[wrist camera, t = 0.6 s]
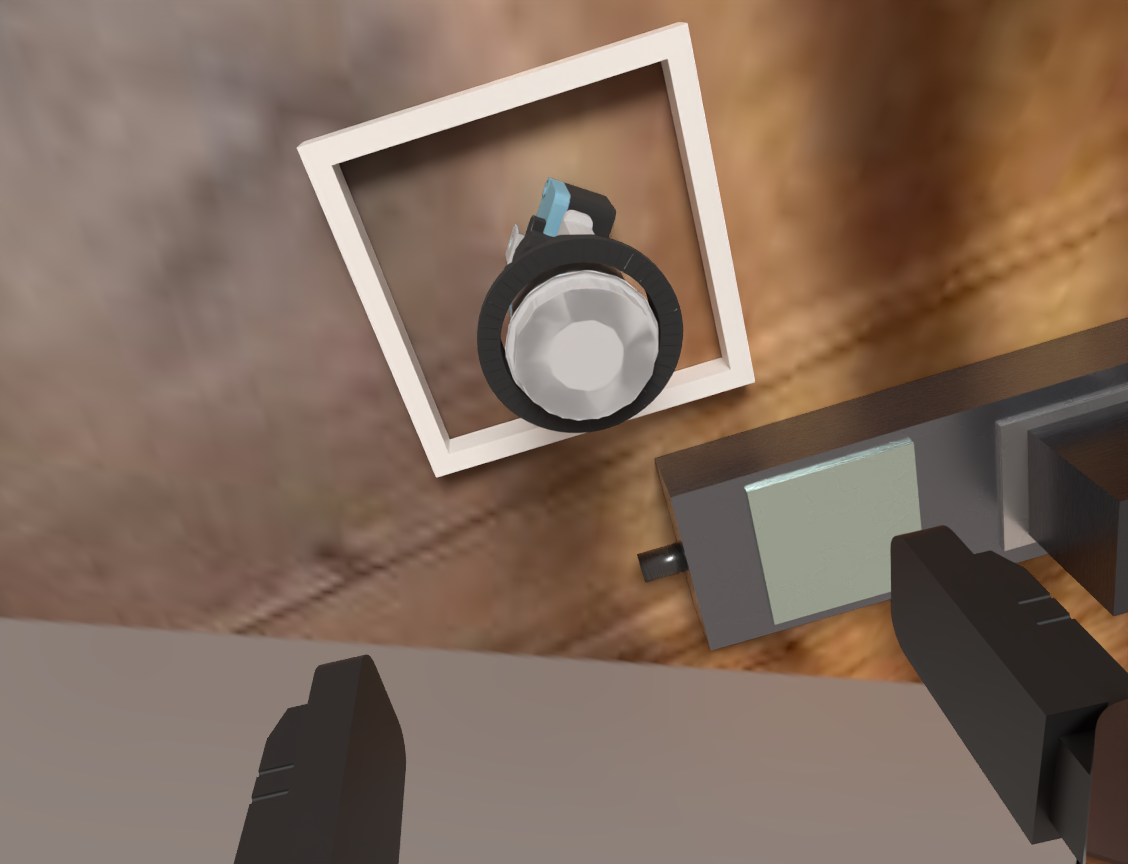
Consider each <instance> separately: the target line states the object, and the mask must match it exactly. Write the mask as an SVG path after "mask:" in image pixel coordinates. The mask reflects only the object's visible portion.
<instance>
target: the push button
mask: <svg viewBox="0 0 1128 864" xmlns="http://www.w3.org/2000/svg"><path fill="white" fill-rule="evenodd" d="M542 196H543V197H542V200H541V203H540V206H539V209H538V212H537V215H536V216H534V215H533V216H532V217H531V219H530V222H529V225H528V228H527V231H526V234H525V236H524V235H521V234H518V233H519V231H518V227H517V225H516V224H515V225H514V227H513V230H512V234H511V237H510V240H509V243H508V246H507V250H506V259H507V264H508V265H507V266H506V267H505V268H504V270H503V271H502V273H501V274H500V275H499V276H498V277H497V279H496V280H495V282H494V283H493V285H492V286H491V288H490V290H489V292H488V293H487V295H486V298H485V300H484V303H483V305H482V308H481V312H480V315H479V321H478V330H477V344H478V355H479V360H480V364H481V367H482V371H483V373H484V376H485V378H486V380H487V382H488V384H489V386H490V387H491V389H492V391H493V392H494V393H495V395H496V396H497V397H498V399H499V400H500V401H501V402H502V403H503V404H504V405H505V406H506V407H507V408H508V409H509V410H511V411H512V412H513V413H514V414H516V415H517V416H519V417H520V418H522V419H524V420H525V421H527V422H529V423H531V424H534V425H536V426H538V427H541V428H545V429H548V430H552V431H557V432H565V433H585V432H593V431H599V430H603V429H606V428H610V427H612V426H615V425H618V424H620V423H622V422H624V421H626V420H628V419H630V418H632V417H633V416H635V415H636V414H638V413H639V412H641V411H642V410H643V409H645V408H646V407H647V406H648V405H649V404H650V403H651V402H653V401H654V400H655V398H656V397H657V396H658V395H659V394H660V393H661V392H662V390H663V389H664V387H665V386H666V385H667V383H668V381H669V380H670V378H671V376H672V374H673V372H674V370H675V368H676V366H677V363H678V360H679V357H680V352H681V348H682V340H683V322H682V315H681V310H680V306H679V303H678V300H677V297H676V295H675V293H674V291H673V289H672V287H671V285H670V284H669V282H668V281H667V279H666V278H665V276H664V275H663V273H662V272H661V271H660V270H659V269H658V267H657V266H656V265H655V264H654V263H653V262H652V261H651V260H650V259H649V258H647V257H646V256H645V255H643V254H642V253H641V252H639V251H637V250H636V249H634V248H632V247H631V246H629V245H626V244H624V243H622V242H619V241H616V240H613V239H610V238H608V237H609V234H610V231H611V228H612V226H613V223H614V220H615V216H616V210H615V209H614V207H613V206H612V204H611V203H610V201H609V200H608V198H607V197H606V196H604V195H601V194H598V193H594V192H591V191H588V190H585V189H582V188H579V187H576V186H573V185H570V184H567V183H564V182H561V181H558V180H555V179H552V178H548V179H547V182H546V184H545V187H544V190H543V194H542ZM619 270H621V271H623V272H624V273H626V274H628V275H629V276H631V277H632V278H633V279H635V280H636V281H637V282H638V283H639V284H640V285H641V286H642V287H643V288H644V289H645V292H646V294H647V298H648V302H649V304H648V302H647V300H646V299H645V297H644V296H643V295H642V294H641V293H639V292H638V291H637V290H636V289H635V288H633V287H632V286H631V285H630V284H628V283H627V282H626V281H625V279H624V278H623V276H622V274H621V273H620V271H619ZM508 308H510V316H511V320H510V323H509V325H508V332H507V339H506V346H505V349H504V347H503V344H502V341H501V329H502V324H503V321H504V318H505V315H506V313H507V310H508Z"/></svg>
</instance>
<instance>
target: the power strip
mask: <svg viewBox="0 0 1128 864" xmlns="http://www.w3.org/2000/svg"><path fill="white" fill-rule="evenodd" d="M655 462H656V465H657V469H658V473H659V477H660V480H661V484H662V488H663V491H664V495H665V499H666V503H667V506H668V510H669V514H670V518H671V521H672V525H673V529H674V533H675V536H676V540H677V543H674V544H670V545H667V546H664V547H660V548H657V549H653V550H650V551H647V552H643V553H640V554H637V556H638V559H639V563H640V566H641V569H642V573H643V576H644V579H645V582H649V581H653V580H656V579H659V578H663V577H666V576H670V575H673V574H677V573H680V572H683V571H685V574H686V577H687V581H688V585H689V589H690V592H691V596H692V600H693V604H694V607H695V609H696V612H697V615H698V617H699V620H700V623H701V626H702V628H703V631H704V634H705V636H706V639H707V642H708V644H709V647H710V650H711V651H712V650H715V649H719V648H722V647H725V646H729V645H732V644H736V643H739V642H743V641H746V640H750V639H753V638H757V637H760V636H764V635H767V634H771V633H774V632H778V631H781V630H785V629H788V628H792V627H795V626H799V625H802V624H806V623H809V622H813V621H816V620H820V619H823V618H827V617H830V616H834V615H837V614H841V613H844V612H848V611H851V610H854V609H858V608H861V607H865V606H868V605H872V604H875V603H879V602H882V601H886V600H889V599H891V558H890V547H891V541H892V538H893V537H894V536H897V535H901V534H906V533H910V532H914V531H919V530H923V529H928V528H932V527H936V526H941V525H945V526H947V527H949V528H950V529H951V530H952V531H953V532H954V533H955V534H956V535H957V536H958V537H959V538H960V539H961V540H962V542H963V543H964V544H965V545H966V546H967V547H968V548H969V549H970V550H971V551H972V552H973V554H976V553H981V552H985V551H990V550H991V551H993V552H995V553H997V554H999V555H1001V556H1003V557H1004V558H1006V559H1008V560H1010V561H1012V562H1014V563H1018V562H1022V561H1025V560H1029V559H1032V558H1036V557H1039V556H1043V555H1046V554H1049V555H1050V556H1051V557H1053V558H1054V559H1055V560H1056V561H1057V562H1058V563H1059V564H1060V565H1061V566H1062V567H1063V568H1064V569H1065V570H1066V571H1067V572H1068V573H1069V574H1070V575H1071V576H1072V577H1073V578H1074V579H1075V580H1076V581H1077V582H1078V583H1080V584H1081V585H1082V586H1083V587H1084V588H1085V589H1086V590H1087V591H1088V592H1089V593H1090V594H1091V595H1092V596H1093V597H1094V598H1095V599H1096V600H1097V601H1098V602H1099V603H1100V604H1101V605H1102V606H1103V607H1104V608H1105V609H1107V610H1108V611H1109V612H1110V613H1111V614H1112V615H1113V616H1116V615H1120V614H1123V613H1127V612H1128V318H1125V319H1122V320H1118V321H1115V322H1112V323H1108V324H1105V325H1102V326H1098V327H1095V328H1092V329H1088V330H1085V331H1081V332H1078V333H1075V334H1071V335H1068V336H1065V337H1061V338H1058V339H1055V340H1051V341H1048V342H1044V343H1041V344H1038V345H1034V346H1031V347H1028V348H1024V349H1021V350H1018V351H1014V352H1011V353H1007V354H1004V355H1001V356H997V357H994V358H991V359H987V360H984V361H981V362H977V363H974V364H970V365H967V366H964V367H960V368H957V369H954V370H950V371H947V372H944V373H940V374H937V375H933V376H930V377H927V378H923V379H920V380H917V381H913V382H910V383H907V384H903V385H900V386H896V387H893V388H890V389H886V390H883V391H880V392H876V393H873V394H870V395H866V396H863V397H859V398H856V399H853V400H849V401H846V402H843V403H839V404H836V405H833V406H829V407H826V408H822V409H819V410H816V411H812V412H809V413H806V414H802V415H799V416H796V417H792V418H789V419H785V420H782V421H779V422H775V423H772V424H769V425H765V426H762V427H759V428H755V429H752V430H748V431H745V432H742V433H738V434H735V435H732V436H728V437H725V438H722V439H718V440H715V441H711V442H708V443H705V444H701V445H698V446H695V447H691V448H688V449H685V450H681V451H678V452H674V453H671V454H668V455H664V456H661V457H658V458H655Z"/></svg>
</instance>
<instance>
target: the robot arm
mask: <svg viewBox="0 0 1128 864" xmlns="http://www.w3.org/2000/svg"><path fill="white" fill-rule="evenodd" d="M890 558H891V616H892V622H893V627H894V630H895V634H896V637H897V639H898V642H899V644H900V646H901V648H902V650H903V652H904V654H905V656H906V657H907V659H908V660H909V662H910V663H911V665H912V666H913V668H914V669H915V671H916V672H917V674H918V675H919V677H920V678H921V680H922V681H923V683H924V684H925V686H926V687H927V689H928V690H929V692H930V693H931V695H932V696H933V697H934V699H935V700H936V702H937V704H938V705H939V707H940V708H941V710H942V711H943V713H944V714H945V716H946V717H947V718H948V720H949V721H950V723H951V724H952V726H953V728H954V729H955V730H956V732H957V734H958V735H959V737H960V738H961V739H962V741H963V743H964V744H965V746H966V747H967V749H968V750H969V751H970V753H971V755H972V756H973V757H974V759H975V760H976V762H977V763H978V765H979V766H980V768H981V769H982V771H983V772H984V774H985V775H986V777H987V778H988V780H989V781H990V783H991V784H992V786H993V787H994V789H995V790H996V792H997V793H998V795H999V796H1000V798H1001V799H1002V801H1003V802H1004V804H1005V805H1006V807H1007V808H1008V810H1009V811H1010V813H1011V814H1012V816H1013V817H1014V819H1015V820H1016V822H1017V823H1018V825H1019V826H1020V827H1021V829H1022V831H1023V832H1024V834H1025V835H1026V837H1027V838H1028V840H1029V841H1030V843H1031V844H1037V843H1041V842H1046V841H1050V840H1054V839H1059V838H1062V839H1063V840H1064V841H1065V843H1066V844H1067V845H1068V847H1069V849H1070V850H1071V851H1072V853H1073V854H1074V855H1075V857H1076V861H1075V864H1128V673H1127V672H1126V671H1125V670H1124V669H1123V668H1122V667H1121V666H1120V665H1119V664H1118V663H1117V662H1116V661H1115V660H1114V659H1113V658H1112V656H1111V655H1110V654H1109V653H1108V652H1107V651H1106V650H1105V649H1104V648H1103V647H1102V646H1101V645H1100V644H1099V643H1098V642H1097V641H1096V640H1095V639H1094V638H1093V637H1092V636H1091V635H1090V634H1089V633H1088V632H1087V631H1086V630H1085V629H1084V628H1083V627H1082V626H1081V625H1080V624H1079V623H1078V622H1077V621H1076V620H1075V619H1071V618H1070V615H1069V613H1068V612H1067V611H1066V609H1065V608H1064V607H1063V606H1062V605H1061V604H1060V603H1059V602H1058V601H1057V600H1056V599H1055V598H1051V597H1050V593H1049V592H1048V591H1047V590H1046V589H1045V588H1044V587H1043V586H1042V585H1041V584H1040V583H1039V582H1038V581H1037V580H1036V579H1035V578H1034V577H1033V576H1032V575H1031V574H1030V573H1029V572H1028V571H1027V570H1026V569H1025V568H1023V567H1022V566H1020V565H1018V564H1016V563H1014V562H1012V561H1010V560H1008V559H1006V558H1004V557H1003V556H1001V555H999V554H997V553H995V552H993V551H991V550H990V551H985V552H981V553H976V554H973V552H972V551H971V550H970V549H969V548H968V547H967V546H966V545H965V544H964V543H963V542H962V540H961V539H960V538H959V537H958V536H957V535H956V534H955V533H954V532H953V531H952V530H951V529H950V528H949V527H947V526H945V525H941V526H936V527H932V528H928V529H923V530H919V531H914V532H910V533H906V534H901V535H897V536H894V537H893V538H892V541H891V547H890ZM405 754H406V753H405V745H404V739H403V734H402V730H401V727H400V724H399V721H398V719H397V716H396V714H395V712H394V709H393V707H392V704H391V702H390V699H389V697H388V695H387V692H386V690H385V687H384V685H383V683H382V681H381V678H380V675H379V673H378V671H377V668H376V666H375V664H374V661H373V660H372V659H371V657H370V656H369V655H362V656H358V657H353V658H349V659H345V660H340V661H336V662H331V663H327V664H323V665H319V666H318V667H317V668H316V670H315V673H314V677H313V682H312V686H311V691H310V695H309V700H308V704H305V705H301V706H296V707H292V708H288V709H287V711H286V712H285V714H284V715H283V716H282V718H281V719H280V721H279V722H278V724H277V725H276V727H275V728H274V730H273V731H272V733H271V734H270V735H269V737H268V738H267V741H266V744H265V748H264V752H263V756H262V760H261V763H260V767H259V777H257V779H256V782H255V786H254V790H253V793H252V804H250V805H249V808H248V812H247V816H246V820H245V823H244V828H243V831H242V835H241V839H240V842H239V846H238V850H237V853H236V857H235V861H234V864H398V863H399V849H400V836H401V823H402V811H403V796H404V783H405V771H406V755H405Z"/></svg>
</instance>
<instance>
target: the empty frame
mask: <svg viewBox="0 0 1128 864" xmlns="http://www.w3.org/2000/svg"><path fill="white" fill-rule="evenodd" d="M659 61H661V64H662V69H663V74H664V78H665V83H666V88H667V93H668V98H669V103H670V107H671V112H672V117H673V122H674V127H675V132H676V136H677V141H678V146H679V151H680V156H681V161H682V165H683V170H684V175H685V180H686V185H687V190H688V195H689V199H690V204H691V209H692V214H693V219H694V224H695V228H696V233H697V238H698V243H699V248H700V253H701V257H702V262H703V267H704V272H705V277H706V282H707V286H708V291H709V296H710V301H711V306H712V311H713V315H714V320H715V325H716V330H717V335H718V340H719V344H720V349H721V354H722V357H721V358H718V359H715V360H711V361H708V362H705V363H702V364H698V365H695V366H692V367H688V368H685V369H682V370H678V371H675V372H673V374H672V376H671V378H670V380H669V381H668V383H667V385H666V386H665V387H664V389H663V390H662V392H661V393H660V394H659V395H658V396H657V397H656V398H655V400H654V401H653V402H651V403H650V404H649V405H648V406H647V407H646V408H645V409H643V410H642V411H641V412H639V413H638V414H636V415H635V416H633V417H632V418H630V419H634V418H637V417H640V416H644V415H647V414H650V413H654V412H657V411H660V410H664V409H667V408H670V407H674V406H677V405H680V404H684V403H687V402H690V401H694V400H697V399H700V398H704V397H707V396H710V395H714V394H717V393H720V392H724V391H727V390H730V389H734V388H737V387H740V386H744V385H747V384H750V383H754V382H755V379H754V373H753V368H752V363H751V357H750V352H749V347H748V341H747V336H746V331H745V326H744V320H743V315H742V310H741V304H740V299H739V294H738V288H737V283H736V278H735V273H734V267H733V262H732V257H731V251H730V246H729V241H728V235H727V230H726V225H725V220H724V214H723V209H722V204H721V198H720V193H719V188H718V182H717V177H716V172H715V167H714V161H713V156H712V151H711V145H710V140H709V135H708V129H707V124H706V119H705V113H704V108H703V103H702V98H701V92H700V87H699V82H698V76H697V71H696V66H695V60H694V55H693V50H692V45H691V39H690V34H689V29H688V23H682V22H677V23H674V24H671V25H668V26H665V27H662V28H658V29H655V30H652V31H649V32H646V33H643V34H640V35H636V36H633V37H630V38H627V39H624V40H621V41H618V42H614V43H611V44H608V45H605V46H602V47H599V48H596V49H593V50H589V51H586V52H583V53H580V54H577V55H574V56H571V57H567V58H564V59H561V60H558V61H555V62H552V63H549V64H546V65H542V66H539V67H536V68H533V69H530V70H527V71H524V72H520V73H517V74H514V75H511V76H508V77H505V78H502V79H498V80H495V81H492V82H489V83H486V84H483V85H480V86H477V87H473V88H470V89H467V90H464V91H461V92H458V93H455V94H451V95H448V96H445V97H442V98H439V99H436V100H433V101H430V102H426V103H423V104H420V105H417V106H414V107H411V108H408V109H404V110H401V111H398V112H395V113H392V114H389V115H386V116H382V117H379V118H376V119H373V120H370V121H367V122H364V123H361V124H357V125H354V126H351V127H348V128H345V129H342V130H339V131H335V132H332V133H329V134H326V135H323V136H320V137H317V138H314V139H310V140H307V141H304V142H303V143H301V144H300V145H299V146H298V147H297V149H298V152H299V154H300V157H301V159H302V161H303V164H304V166H305V168H306V171H307V173H308V175H309V178H310V180H311V183H312V185H313V187H314V190H315V192H316V194H317V197H318V199H319V202H320V204H321V206H322V209H323V211H324V213H325V216H326V218H327V220H328V223H329V225H330V228H331V230H332V232H333V235H334V237H335V239H336V242H337V244H338V246H339V249H340V251H341V254H342V256H343V258H344V261H345V263H346V265H347V268H348V270H349V272H350V275H351V277H352V280H353V282H354V284H355V287H356V289H357V291H358V294H359V296H360V298H361V301H362V303H363V306H364V308H365V310H366V313H367V315H368V317H369V320H370V322H371V324H372V327H373V329H374V332H375V334H376V336H377V339H378V341H379V343H380V346H381V348H382V350H383V353H384V355H385V358H386V360H387V362H388V365H389V367H390V369H391V372H392V374H393V377H394V379H395V381H396V384H397V386H398V388H399V391H400V393H401V395H402V398H403V400H404V403H405V405H406V407H407V410H408V412H409V414H410V417H411V419H412V421H413V424H414V426H415V429H416V431H417V433H418V436H419V438H420V440H421V443H422V445H423V447H424V450H425V452H426V455H427V457H428V459H429V462H430V464H431V466H432V469H433V471H434V473H435V476H436V478H437V477H440V476H443V475H447V474H450V473H453V472H457V471H460V470H463V469H467V468H470V467H474V466H477V465H480V464H484V463H487V462H490V461H494V460H497V459H500V458H504V457H507V456H510V455H514V454H517V453H520V452H524V451H527V450H530V449H534V448H537V447H540V446H544V445H547V444H550V443H554V442H557V441H560V440H564V439H567V438H570V437H574V436H577V435H580V434H584V433H565V432H557V431H552V430H548V429H545V428H541V427H538V426H536V425H534V424H531V423H529V422H527V421H525V420H524V419H522V418H519V419H516V420H512V421H509V422H506V423H502V424H499V425H496V426H493V427H489V428H486V429H483V430H479V431H476V432H473V433H469V434H466V435H463V436H459V437H456V438H453V439H449V436H448V434H447V431H446V429H445V426H444V424H443V421H442V419H441V416H440V414H439V411H438V409H437V406H436V404H435V401H434V399H433V397H432V394H431V392H430V389H429V387H428V384H427V382H426V379H425V377H424V374H423V372H422V369H421V367H420V364H419V362H418V359H417V357H416V354H415V352H414V349H413V347H412V344H411V342H410V339H409V337H408V334H407V332H406V329H405V327H404V325H403V322H402V320H401V317H400V315H399V312H398V310H397V307H396V305H395V302H394V300H393V297H392V295H391V292H390V290H389V287H388V285H387V282H386V280H385V277H384V275H383V272H382V270H381V267H380V265H379V262H378V260H377V257H376V255H375V253H374V250H373V248H372V245H371V243H370V240H369V238H368V235H367V233H366V230H365V228H364V225H363V223H362V220H361V218H360V215H359V213H358V210H357V208H356V205H355V203H354V200H353V198H352V195H351V193H350V190H349V188H348V185H347V183H346V181H345V178H344V176H343V173H342V171H341V168H340V166H339V163H341V162H344V161H347V160H350V159H353V158H357V157H360V156H363V155H366V154H369V153H372V152H376V151H379V150H382V149H385V148H388V147H391V146H394V145H398V144H401V143H404V142H407V141H410V140H413V139H417V138H420V137H423V136H426V135H429V134H432V133H435V132H439V131H442V130H445V129H448V128H451V127H454V126H457V125H461V124H464V123H467V122H470V121H473V120H476V119H480V118H483V117H486V116H489V115H492V114H495V113H498V112H502V111H505V110H508V109H511V108H514V107H517V106H521V105H524V104H527V103H530V102H533V101H536V100H539V99H543V98H546V97H549V96H552V95H555V94H558V93H561V92H565V91H568V90H571V89H574V88H577V87H580V86H584V85H587V84H590V83H593V82H596V81H599V80H602V79H606V78H609V77H612V76H615V75H618V74H621V73H625V72H628V71H631V70H634V69H637V68H640V67H643V66H647V65H650V64H653V63H656V62H659ZM630 419H628V420H630ZM626 421H627V420H626ZM585 433H587V432H585Z"/></svg>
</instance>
